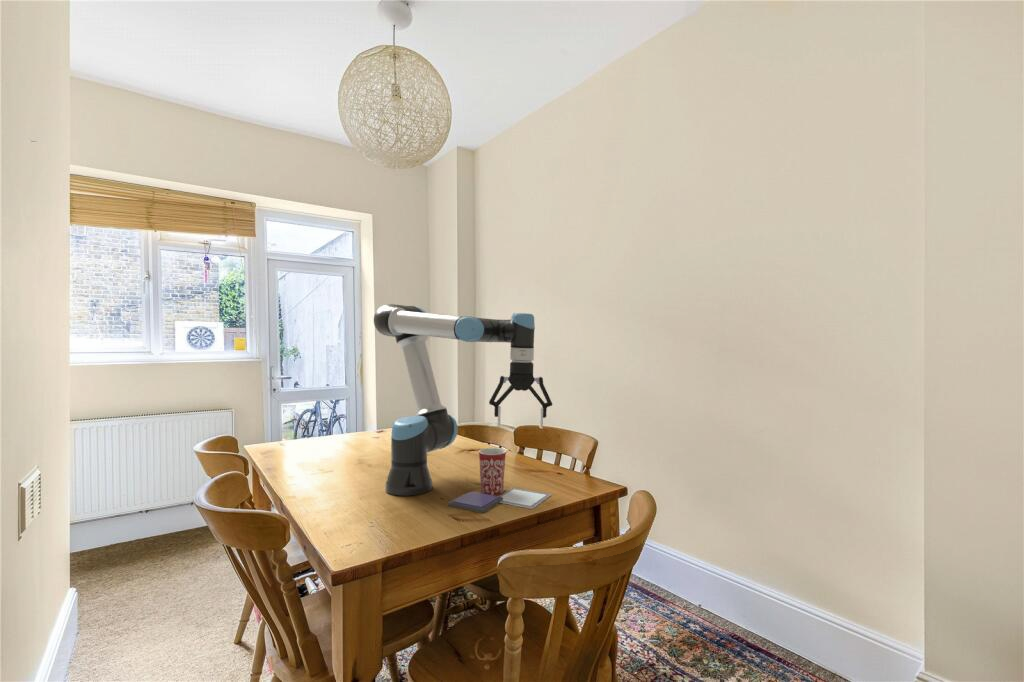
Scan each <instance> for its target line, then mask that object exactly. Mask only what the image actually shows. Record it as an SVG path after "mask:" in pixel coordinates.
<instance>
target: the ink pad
mask: <svg viewBox="0 0 1024 682" xmlns="http://www.w3.org/2000/svg"><path fill="white" fill-rule="evenodd" d="M501 500H503V497H499V495H495V496H494V495H488V494H483V493H481V492H477V491H468V492H466V493H465V494H462V495H461V496H459V497H457V498H455V499H453V500H450V501H449V502H448V503H447V506H448V507H452V508H456V509H460V510H461V509H462V510H464V511H465V510H467V511H471V512H475V513H481V514H483V513H485V512H487V511H488V510H490V509H491V508H494V507H495V506H497V505H498V504H500V501H501Z"/></svg>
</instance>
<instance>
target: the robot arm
mask: <svg viewBox="0 0 1024 682" xmlns="http://www.w3.org/2000/svg"><path fill="white" fill-rule="evenodd" d="M510 317H511V318H510V319H497V318H496V319H493V318H482V317H475V316H462V315H453V314H443V313H442V314H441V313H432V312H431V313H430V312H427V311H426V310H424V309H423V308H421V307H418V306H415V305H403V304H402V305H401V304H394V303H390V304H389V303H387V304H384V305H382V306H380V307H379V308H378V309H376V311H375V313H374V315H373V325H374V327H375V329H376V331H377V332H378V333H380V334H381V335H383V336H386V337H391V338H392V337H395V342H396V344H397V345H396V346H399V347H400V348H401V349H402V352H403V356H404V360H405V366H406V368H407V373H408V375H409V380H410V385H411V388H412V394H413V396H414V401H415V405H416V409H417V412H416V414H415V415H409V416H403V417H400V418H398V419H396V420H394V421H393V423H392V425H391V431H390V439H391V442H390V443H391V453H390V454H391V457H390V458H391V460H390V463H391V464H390V466H391V467H390V469H389V473H388V475H387V480H386V482H385V492H386V493H388V494H390V495H394V496H400V497H401V496H403V497H405V496H407V497H409V496H416V495H422V494H425V493H428V492H429V491H431V490H432V489H433V478H431V474H430V473H431V472H430V470H429V467H428V453H430V452H434V451H437V450H441V449H445V448H446V447H448V446H450V445H452V444H453V442H455V440H456V438H457V436H458V431H459V430H458V423H457V421H456V419H455V418H454V417H453V416H452V415H451V414H449V412H448V409H447V407H446V406H444V405H443V404H442V403H441V400H440V399H441V398H440V395H439V392H438V388H437V383H436V378H435V375H434V371H433V367H432V364H431V361H430V355H429V351H428V348H427V347H428V346H427V344H426V343H427V340H428V338H429V337H433V338H441V339H450V340H457V341H458V340H459V341H462V342H466V343H474V342H475V343H477V342H478V343H479V342H480V343H510V353H509V354H510V355H509V356H510V357H509V358H510V360H511V362H510V364H509V376H504V375H500V376H499V382H498V384H497V385H496V388H495V390H494V391H493V394H492V395H491V398H490V399H489V402H488V404H489V405H490V406H494V417H496V418H497V428H501V415H502V414H501V413H502V411H501V409H502V407H501V404H502V403H503V401H504V400H505V399H506V398H507V397H508V396H509V395H510V394H511V392H512V391H523V392H526V391H530V392H531V394H532V395H533V396H534V398H535V399H536V400H537V401H538V402H539V404H540V405H541V406H539V424H538V425H539V429H541V430H543V429H544V427H543V426H544V425H543V424H544V418H545V419H546V418H547V408H549V407H552V406H553V402H552V399H551V398H550V396H549V393H548V392H547V389H546V387H545V385H544V378H543V377H542V376H539V377H534V363H533V362H534V356H535V354H534V353H535V352H534V351H535V345H534V343H535V328H536V327H535V325H536V324H535V316H534V314H532V313H526V312H525V313H523V312H518V313H516V312H514V313H512V315H511V316H510ZM507 382H508V383H510V386H508V388H507V389H506V390H505V391H504V392H503V393H502V394H501V395H500V396H499V398H498V399H497V397H498V395H499V393H500V391H501V389H502V387H503V385H504V384H506V383H507ZM534 382H535V383H536V384H537V385H539V388H540V390H541V393H542V395H543V396H544V399H545V400H546V402H545V401H544V400H543V399H542V397H541V396H540V395H539V393H537V391H536V390H535V389H534V387H533V386H532V385H533V384H534ZM496 399H497V400H496ZM495 400H496V401H495Z"/></svg>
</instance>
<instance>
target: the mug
mask: <svg viewBox="0 0 1024 682" xmlns="http://www.w3.org/2000/svg"><path fill="white" fill-rule="evenodd" d="M478 454H479V455H478V456H479V457H478V458H479V477H480V478H479V479H480V493H483V494H488V495H494V496H499V495H501V494H503V493H504V484H505V482H504V481H505V467H506V466H505V465H506V454H507V450H506V449H503V448H499V447H498V448H497V447H488V448H482V449H480V450H478Z"/></svg>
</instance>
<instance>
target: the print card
mask: <svg viewBox="0 0 1024 682" xmlns="http://www.w3.org/2000/svg"><path fill="white" fill-rule="evenodd" d="M498 496H499V497H503V500H501V501H500V503H501V504H504V505H510V506H516V507H519V508H520V507H522V508H526V509H532V510H533V509H534V508H535V507H537V506H539V505H540V504H542V503H543V502H544V501H546V500H547V499H548V498H550V497H551V496H552V494H550V493H547V492H546V493H545V492H540V491H533V490H528V489H524V488H523V489H522V488H516V487H511V488H509V489H508V490H507V491H505V492H504V491H503V493H502V494H500V495H498ZM500 503H499V504H500Z"/></svg>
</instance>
